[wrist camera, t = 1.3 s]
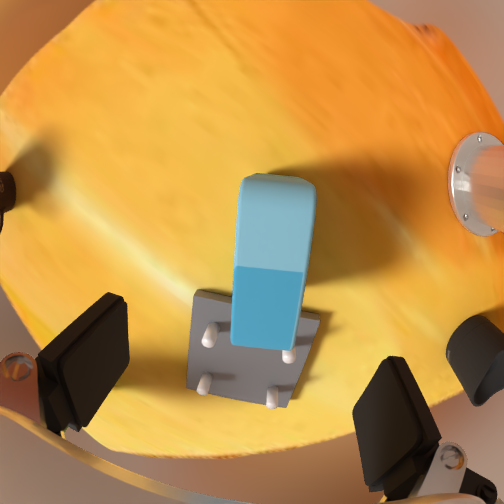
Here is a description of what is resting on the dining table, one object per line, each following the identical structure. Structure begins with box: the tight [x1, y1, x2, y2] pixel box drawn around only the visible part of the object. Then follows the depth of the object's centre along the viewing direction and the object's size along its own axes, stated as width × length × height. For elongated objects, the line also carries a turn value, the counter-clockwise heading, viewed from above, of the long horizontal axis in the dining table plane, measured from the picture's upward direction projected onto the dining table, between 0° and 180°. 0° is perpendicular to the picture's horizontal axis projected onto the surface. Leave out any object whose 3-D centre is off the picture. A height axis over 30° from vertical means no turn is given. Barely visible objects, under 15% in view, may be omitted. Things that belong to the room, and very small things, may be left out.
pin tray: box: [186, 289, 320, 409], centre depth 31 cm, size 14×15×4 cm
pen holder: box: [446, 316, 504, 406], centre depth 26 cm, size 9×9×10 cm
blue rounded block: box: [230, 173, 317, 351], centre depth 23 cm, size 12×4×12 cm, turn 176°
